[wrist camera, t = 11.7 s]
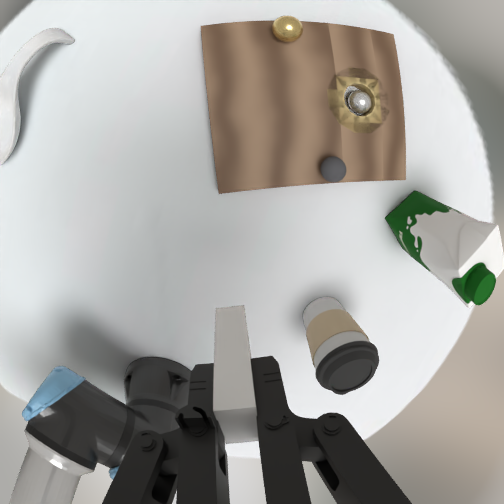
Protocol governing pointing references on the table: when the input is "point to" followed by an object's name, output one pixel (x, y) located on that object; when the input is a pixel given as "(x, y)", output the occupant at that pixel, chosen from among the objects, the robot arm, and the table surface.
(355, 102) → the steel ball
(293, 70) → the board
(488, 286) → the milk carton
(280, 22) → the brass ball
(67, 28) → the table surface
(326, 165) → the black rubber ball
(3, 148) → the white curved piece
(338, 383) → the coffee cup
